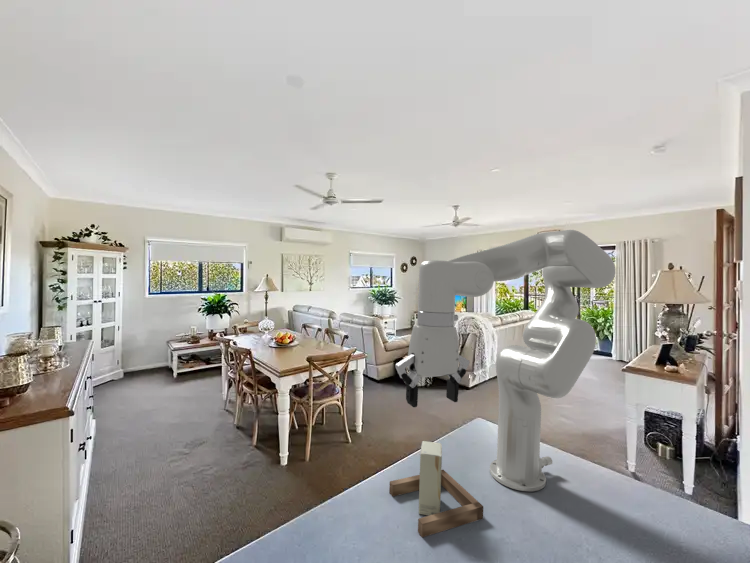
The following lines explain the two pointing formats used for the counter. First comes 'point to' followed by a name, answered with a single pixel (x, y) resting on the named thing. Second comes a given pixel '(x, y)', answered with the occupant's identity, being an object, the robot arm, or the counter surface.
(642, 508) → the counter surface
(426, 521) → the open wooden u frame
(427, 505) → the skincare box
